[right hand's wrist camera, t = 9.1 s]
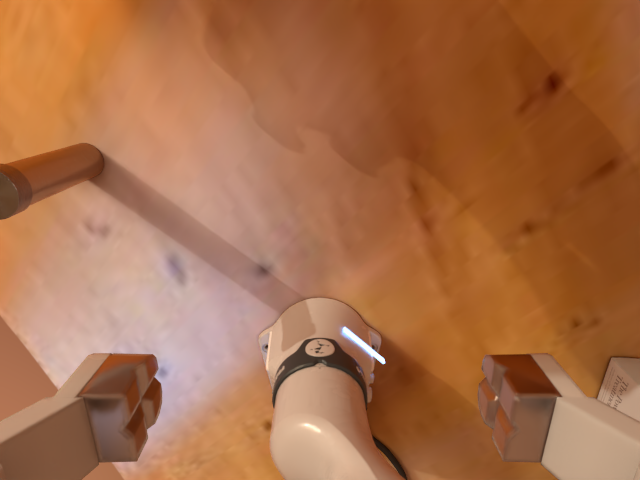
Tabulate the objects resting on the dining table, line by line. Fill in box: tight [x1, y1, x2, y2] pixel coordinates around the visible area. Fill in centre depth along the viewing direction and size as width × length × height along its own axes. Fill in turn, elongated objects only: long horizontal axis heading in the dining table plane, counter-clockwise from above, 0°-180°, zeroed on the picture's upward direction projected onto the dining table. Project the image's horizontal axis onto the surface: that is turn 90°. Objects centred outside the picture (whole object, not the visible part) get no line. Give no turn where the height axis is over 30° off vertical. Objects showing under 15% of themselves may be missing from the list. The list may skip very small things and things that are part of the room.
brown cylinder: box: [6, 143, 104, 205], centre depth 49 cm, size 4×4×17 cm
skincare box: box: [597, 358, 640, 421], centre depth 64 cm, size 21×6×16 cm, turn 178°
